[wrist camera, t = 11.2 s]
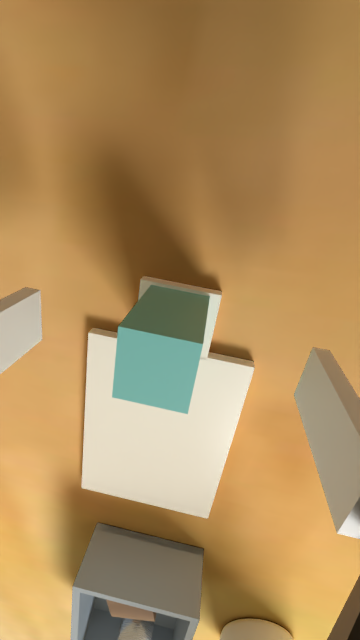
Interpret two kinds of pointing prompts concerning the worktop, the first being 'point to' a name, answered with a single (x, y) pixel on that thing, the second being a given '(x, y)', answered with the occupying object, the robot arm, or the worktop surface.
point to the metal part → (135, 629)
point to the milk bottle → (254, 630)
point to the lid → (162, 401)
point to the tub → (137, 584)
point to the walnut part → (130, 611)
